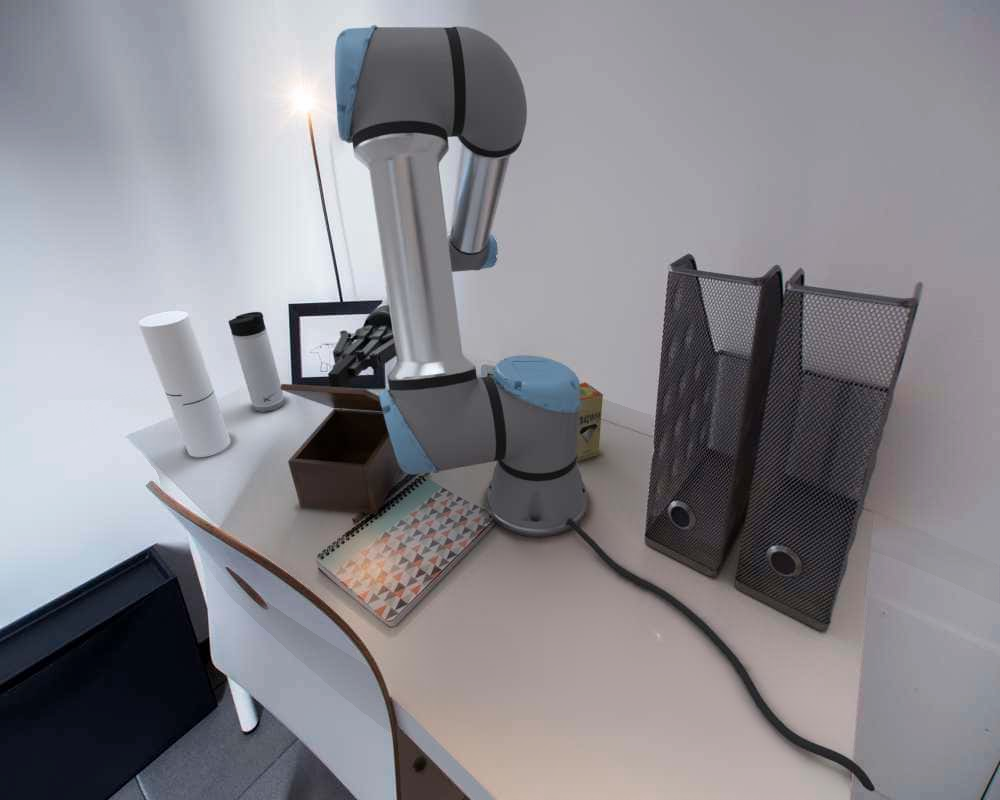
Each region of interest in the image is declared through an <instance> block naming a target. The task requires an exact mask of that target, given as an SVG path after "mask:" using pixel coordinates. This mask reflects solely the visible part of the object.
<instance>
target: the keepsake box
mask: <svg viewBox="0 0 1000 800" xmlns="http://www.w3.org/2000/svg"><path fill="white" fill-rule="evenodd" d="M287 463H288V466H289V470H290V475H291V477H292V482H293V485H294V489H295V492H296V495H297V499H298V503H299V507H300V508H307V509H317V510H325V511H337V512H348V513H356V514H366V515H374V516H375V515H378V513H379V511H380V509H381V508H382V506H383V504H384V503H385V501H386V499H387V497H388V496H389V493H390V492H391V490H392V488H393V486H394V484H395V483H396V481H397V479H398V477H399V475H400V474H401V471H403V470H402V469H401V468H400V466H399V464H398V461H397V458H396V455H395V452H394V449H393V446H392V442H391V439H390V436H389V432H388V429H387V425H386V422H385V418H384V414H383V412H382V411H367V410H352V409H337V408H332V410H331V412H329V414H328V415H327V416H325V418H324V419H323V420H322V422H321V423H320V424H319V425H318V426H317V427H316V429H315V430H313V432H312V433H311V434H310V435H309V437H307V438H306V440H305V441H304V442H303V443H302V444H301V446H300V447H299V448H298V449H297V450H296V451H295V453H293V455H292V456H291V457H290V458H289V459H288V460H287Z"/></svg>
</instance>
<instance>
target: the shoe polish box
mask: <svg viewBox="0 0 1000 800" xmlns="http://www.w3.org/2000/svg"><path fill="white" fill-rule="evenodd" d="M603 399H604V394H603V393H601V392H600V391H599V390H598V389H596V388H595V387H593V386H592V385H590V384H589V383H587V382H581V383H580V401H581V409H580V416H579V431H578V447H577V463H578V462H581V461H584V460H587V459H589V458H593V457H595V456H598V455H599V450H600V438H601V425H602V414H603V413H602V412H603V411H602V410H603Z"/></svg>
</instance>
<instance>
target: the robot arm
mask: <svg viewBox="0 0 1000 800" xmlns="http://www.w3.org/2000/svg"><path fill="white" fill-rule="evenodd" d="M334 85H335V101H336V119H337V129H338V136H339V138H340V140H341V141H342V142H345V143H347V144H352V149H353V155H354V158H355V159H356V160H358V161H359V163H361V164H362V165H363V166H364V167H366V168H367V170H368V172H369V178H370V186H371V192H372V199H373V205H374V211H375V212H374V213H375V220H376V225H377V233H378V240H379V246H380V255H381V260H382V268H383V274H384V281H385V291H386V299H385V300H383V302H381V304H379V305H378V306H377V307H376V308H375V309H374V310H373V311H372V312H371V313H370V314H369V315H367V317H366V318H365V321H364V323H363V325H362V326H361V327H360V328H357V329H356V330H355V332H353V333H351V332H350V331H348V330H341V331H339V336H340V338H338V339H339V340H338V341H337V342H336V345H335V347H334V348H333V351H332V356H333V361H334V364H333V365H332V369H331V370H330V371H329V372H328V373H327V376H328V380H329V387H341V388H345V386H346V385H348V383H349V382H350V381H352V380H353V378H356V377H358V376H359V375H360V374H361V373H362V372H363V371H366V370H368V368H371V369H372V370H378V369H380V368H381V367H382V366H384V365H386V364H387V363H388V362H389V361H392V359H395V357H396V362H395V365H394V367H393V368H392V370H391V371H390V372H389V373H388V374H387V376H386V377H387V384H388V388H385V389H383V390H382V391H380V392H379V394H378V396H379V399H380V403H381V407H382V410H383V414H384V418H385V422H386V425H387V429H388V432H389V436H390V439H391V442H392V446H393V449H394V452H395V455H396V458H397V461H398V464H399V466H400V468H401V469H402V470H401V471H403V473H406V474H408V475H412V476H413V475H420V474H421V475H423V474H429V473H434V474H439V473H440V472H442V471H448V470H453V469H459V468H465V467H470V466H471V467H472V466H476V465H483V464H489V463H494V462H496V464H495V466H494V469H493V473H492V476H491V479H490V481H489V484H488V486H487V491H486V506H487V510H488V513H489V514H490V516H491V518H492V520H494V522H495V523H497V524H498V525H499V526H500V527H502V528H504V529H505V530H507V531H509V532H511V533H514V534H517V535H521V536H526V537H533V538H535V537H536V538H541V537H543V538H544V537H551V536H556V535H560V534H562V533H565V532H567V531H569V530H571V529H573V531H574V532H576V534H577V535H579V537H580V538H581V539H583V541H585V542H586V543H587V545H589V546H590V547H591V548H592V550H594V552H595V553H596V554H597V555H598V557H600V558H601V560H603V561H604V562H605V564H607V565H608V566H609V567H610V568H611V569H613V570H614V571H616V573H618V574H620V575H621V576H622V577H624V578H626V579H628V580H629V581H631V582H633V583H634V584H637V585H639V586H640V587H643V588H645V589H647V590H649V591H650V592H652V593H654V594H655V595H656V596H657V595H658V596H659V597H660V598H662V599H663V600H665V601H667V602H668V603H669V604H671V605H672V606H673V607H674V608H676V609H677V610H679V611H680V612H681V613H682V614H683V615H685V617H687V618H688V619H689V620H690V621H691V622H693V623H694V624H695V625H696V626H697V627H698V629H700V630H701V631H702V632H703V633H704V634H705V635H706V636H707V637H708V638H709V639H710V640H711V641H712V642H713V643H714V645H715V646H716V647H717V648H718V649H719V650H720V652H721V653H722V654H723V655H724V656H725V657H726V658H727V659H728V661H729V662H730V664H731V665H732V666H733V668H734V669H735V670H736V672H737V673H738V675H739V677H740V678H741V680H742V683H743V684H744V685H745V688H746V690H747V691H748V693H749V694H750V696H751V698H752V700H753V701H754V703H755V705H756V706H757V707H758V709H759V710H760V712H761V713H762V714H763V716H764V717H765V718H766V720H767V721H768V722H769V723H770V724H771V725H772V726H773V727H774V728H775V729H776V731H777V732H779V733H780V734H781V735H782V736H783V737H784V738H786V739H787V740H788V741H790V742H791V743H793V744H794V745H796V746H798V747H799V748H801V749H803V750H805V751H807V752H810V753H811V754H814V755H816V756H819V757H822V758H824V759H826V760H829V761H831V762H834V763H836V764H838V765H840V766H842V767H844V768H845V769H846V770H848V771H849V772H850V773H851V774H853V775H854V776H855V778H857V779H858V781H859V782H860V784H861V785H862V786H863V787H864V789H866V791H869V792H874V791H875V786H874V784H873V782H872V781H871V779H870V777H869V776H868V774H867V773H866V772H865V771H864V770H863V769H862V768H861V766H860V765H858V764H857V763H856V762H855V761H853V760H852V759H851V758H849V757H847V756H846V755H844V754H842V753H840V752H838V751H835V750H834V749H831V748H829V747H825V746H823V745H821V744H817V743H816V742H813V741H811V740H808V739H806V738H804V737H802V736H800V735H798V734H797V733H796V732H794V731H793V730H791V729H790V728H789V727H788V726H787V725H785V723H783V722H782V721H781V719H779V718H778V717H777V716H776V714H775V713H774V712H773V711H772V709H771V708H770V707H769V706H768V704H767V703H766V701H765V700H764V698H763V697H762V695H761V694H760V692H759V690H758V689H757V687H756V685H755V683H754V681H753V680H752V678H751V676H750V675H749V673H748V672H747V670H746V668H745V667H744V665H743V664H742V662H741V661H740V659H739V658H738V657H737V656H736V655H735V653H734V652H733V651H732V649H730V648H729V646H728V645H727V644H726V643H725V641H723V640H722V638H720V636H719V635H718V634H717V633H716V632H715V631H714V630H713V629H712V628H711V627H710V626H709V625H708V624H707V623H706V622H705V621H703V619H702V618H700V616H698V615H697V614H696V613H695V612H694V611H693V610H691V609H690V608H689V607H687V606H686V605H685V604H684V603H683V602H681V601H680V600H678V599H677V598H676V597H675V596H673V594H671V593H669V592H667V591H666V590H664V589H663V588H661V587H659V586H657V585H655V584H654V583H652V582H650V581H648V580H646V579H644V578H642V577H640V576H638V575H636V574H634V573H632V572H630V571H629V570H627V569H626V568H625V567H622V566H621V565H619V563H617V562H616V561H614V559H613V558H611V557H610V556H609V555H608V554H607V553H606V552H605V551H604V550H603V549H602V548H601V547H600V546H599V544H598V543H596V541H595V540H594V539H593V538H592V537H591V536H590V535H589V534H588V533H587V532H586V531H584V530H583V528H581V526H580V525H578V524H579V523H580V522H581V521H582V520H583V517H584V516H585V514H586V511H587V503H588V496H587V495H588V494H587V489H586V485H585V483H584V481H583V477H582V474H581V470H580V467H579V465H578V462H577V447H578V431H579V416H580V409H581V401H580V384H581V383H580V379H579V377H578V375H577V374H576V373H575V372H574V371H573V370H572V369H571V368H570V367H569V366H567V365H566V364H564V363H562V362H560V361H556V360H554V359H551V358H549V357H548V358H547V357H544V356H538V355H525V354H522V355H511V356H508V357H505V358H504V359H502V360H499V361H498V362H496V363H495V365H494V368H493V370H492V375H488V376H482V377H478V376H477V369H476V364H475V363H474V362H472V361H471V360H470V359H468V357H466V356H465V355H464V353H463V346H462V339H461V333H460V332H461V331H460V324H459V316H458V309H457V300H456V293H455V285H454V276H453V273H455V272H467V271H481V270H484V269H491V268H493V267H494V266H496V264H497V262H498V257H497V258H496V255H497V256H498V253H499V249H498V247H497V246H498V241H497V242H496V240H497V239H496V240H495V238H494V236H493V235H492V234H491V230H493V229H492V228H493V225H494V220H495V217H496V213H497V209H498V205H499V202H500V198H501V194H502V190H503V187H504V182H505V178H506V174H507V170H508V166H509V162H510V158H511V156H512V155H514V153H516V151H517V150H518V149H519V148H520V146H521V145H522V141H523V137H524V135H525V130H526V126H527V119H528V105H527V98H526V92H525V87H524V84H523V81H522V78H521V76H520V74H519V72H518V69H517V67H516V65H515V63H514V62H513V60H512V59H511V56H509V54H508V53H507V52H506V51H505V50H504V48H503V47H502V46H501V45H500V44H499V43H498V42H497V41H496V40H495V39H493V38H492V37H490V36H489V35H487V34H486V33H484V32H482V31H480V30H478V29H475V28H472V27H468V26H461V25H459V26H457V25H456V26H452V27H442V26H441V27H439V26H438V27H437V26H435V27H434V26H433V27H430V26H427V27H426V26H425V27H424V26H419V27H418V26H417V27H416V26H412V27H411V26H410V27H409V26H404V27H403V26H396V27H395V26H378V25H377V24H373V25H370V27H352V28H346V29H344V30H342V31H341V32H340V33H339V34H338V35H337V37H336V40H335V46H334ZM455 137H456V138H457V139H458V142H459V150H458V157H457V158H458V159H457V166H456V167H457V168H456V175H455V183H454V191H453V200H452V201H453V202H452V208H451V215H450V223H449V231H448V229H447V222H446V213H445V205H444V198H443V197H444V196H443V189H442V182H441V174H440V163H441V161H442V160H443V159H444V158H445V156H446V155H447V153H448V152H449V149H450V147H449V146H450V145H449V138H455ZM496 261H497V262H496ZM495 263H496V264H495Z"/></svg>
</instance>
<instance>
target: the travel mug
mask: <svg viewBox="0 0 1000 800" xmlns="http://www.w3.org/2000/svg"><path fill="white" fill-rule="evenodd" d="M264 319H265V318H264V314H263V313H262V312H261V311H252V312H251V311H250V312H246V313H242V314H238V315H236V316H235V318H232V319H229V320H228V325H229V329H230V332H231V336H232V340H233V343H234V347H235V351H236V353H237V357H238V360H239V364H240V368H241V370H242V374H243V377H244V378H243V379H244V380H245V384H246V388H247V391H248V395H249V399H250V401H251V404H252V408H253V410H255V411H257V412H262V413H263V412H267V413H268V412H271V411H275V410H277V409H279V408H281V407H282V406H284V404H285V403H286V402H285V401H286V399H285V396H284V393H283V392H284V391H283V390H281V384H282V383H281V380H280V376H279V373H278V369H277V365H276V360H275V356H274V354H273V349H272V345H271V342H270V338H269V334H268V331H267V326H266V324H265V320H264Z"/></svg>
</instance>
